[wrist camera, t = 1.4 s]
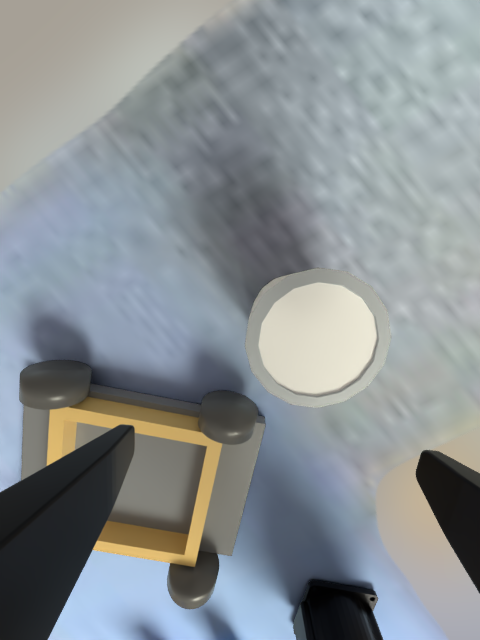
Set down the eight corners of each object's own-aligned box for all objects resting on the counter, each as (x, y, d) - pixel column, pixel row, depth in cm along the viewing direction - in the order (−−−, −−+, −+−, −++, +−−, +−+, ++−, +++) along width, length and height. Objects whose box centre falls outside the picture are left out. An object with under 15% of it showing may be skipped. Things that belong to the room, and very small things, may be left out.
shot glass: (316, 370, 20) (355, 426, 13) (230, 341, 20) (225, 384, 13) (353, 284, 19) (419, 297, 12) (262, 251, 18) (275, 245, 11)
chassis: (269, 398, 20) (275, 430, 17) (228, 557, 24) (225, 615, 20) (36, 353, 20) (-15, 375, 16) (28, 523, 23) (-15, 576, 19)
